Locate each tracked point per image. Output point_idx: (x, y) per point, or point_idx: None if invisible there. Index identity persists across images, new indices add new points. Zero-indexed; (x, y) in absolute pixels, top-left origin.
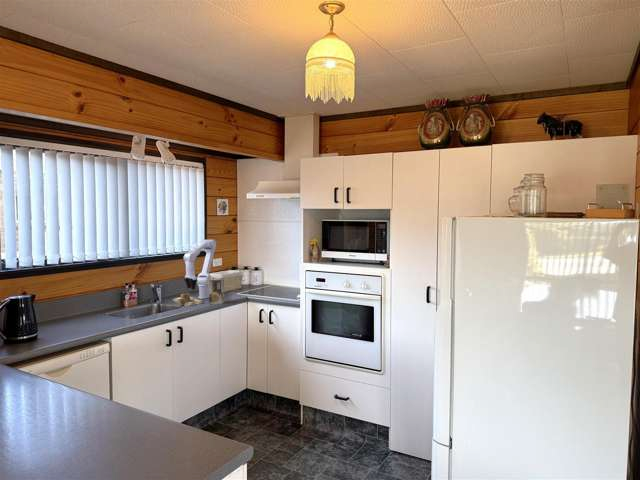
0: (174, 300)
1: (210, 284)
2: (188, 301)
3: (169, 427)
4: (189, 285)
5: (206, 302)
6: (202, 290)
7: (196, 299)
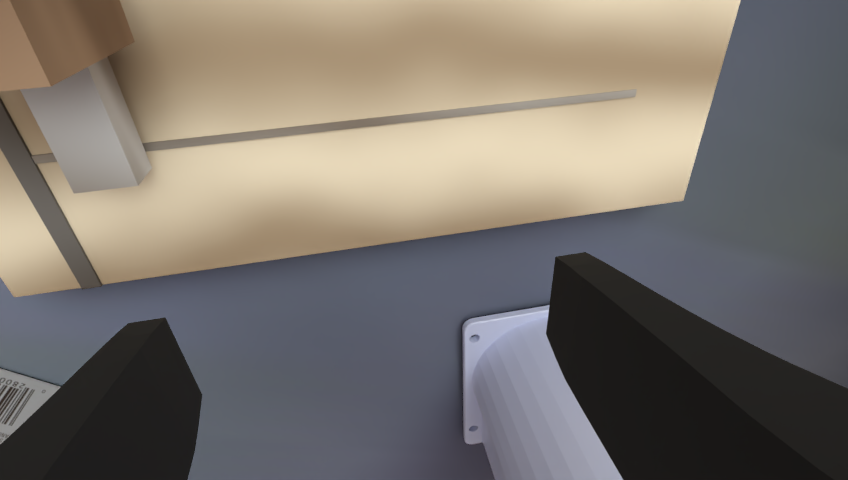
0: None
1: None
2: None
3: None
4: (601, 380)
5: None
6: (533, 444)
7: (239, 233)
